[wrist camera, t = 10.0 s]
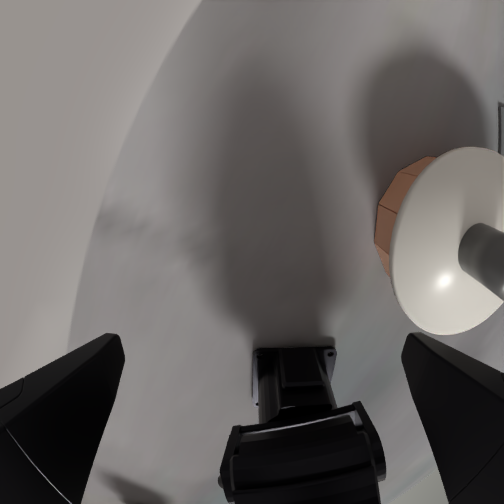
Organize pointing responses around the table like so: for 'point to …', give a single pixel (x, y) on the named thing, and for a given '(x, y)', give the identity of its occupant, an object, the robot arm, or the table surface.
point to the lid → (451, 242)
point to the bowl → (394, 206)
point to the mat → (501, 131)
